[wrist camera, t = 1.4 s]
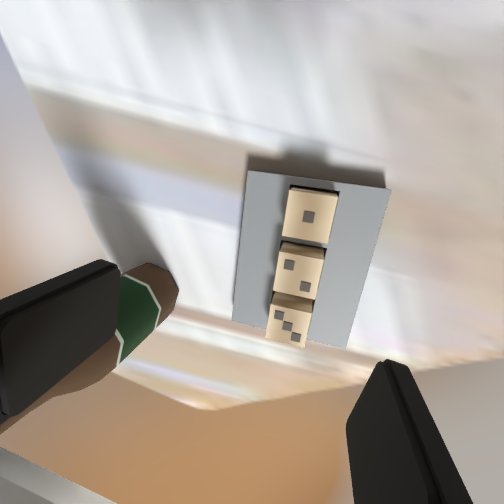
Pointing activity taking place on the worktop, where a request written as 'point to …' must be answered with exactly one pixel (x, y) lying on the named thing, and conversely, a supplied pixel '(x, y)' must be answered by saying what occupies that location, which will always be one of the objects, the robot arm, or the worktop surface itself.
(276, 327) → the key
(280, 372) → the worktop surface
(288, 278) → the key
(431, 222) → the worktop surface
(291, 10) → the worktop surface
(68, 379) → the beer bottle
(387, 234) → the worktop surface
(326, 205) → the key
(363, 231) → the board
